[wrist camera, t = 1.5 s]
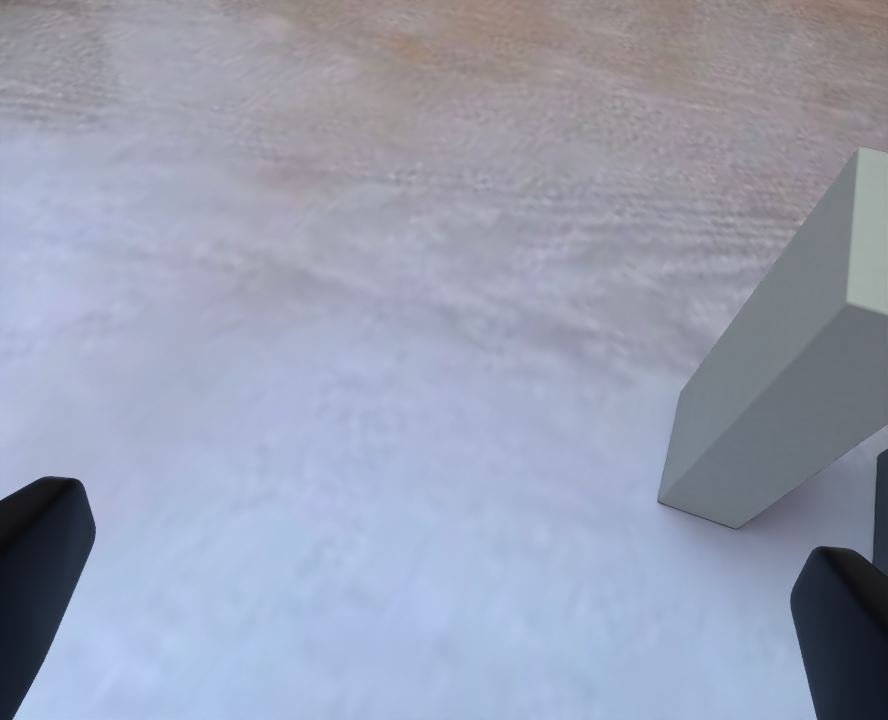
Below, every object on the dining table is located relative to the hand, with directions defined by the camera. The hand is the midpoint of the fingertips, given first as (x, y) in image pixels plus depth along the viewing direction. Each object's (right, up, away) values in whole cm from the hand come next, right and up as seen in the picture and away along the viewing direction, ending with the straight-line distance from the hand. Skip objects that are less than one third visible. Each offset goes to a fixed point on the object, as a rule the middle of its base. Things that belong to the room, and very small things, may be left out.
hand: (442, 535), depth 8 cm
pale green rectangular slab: (+10, -2, +18) cm, 21 cm away
